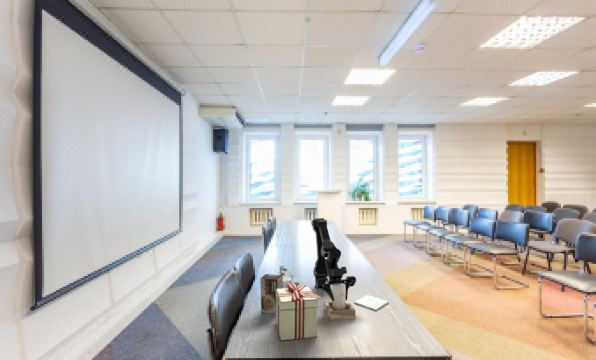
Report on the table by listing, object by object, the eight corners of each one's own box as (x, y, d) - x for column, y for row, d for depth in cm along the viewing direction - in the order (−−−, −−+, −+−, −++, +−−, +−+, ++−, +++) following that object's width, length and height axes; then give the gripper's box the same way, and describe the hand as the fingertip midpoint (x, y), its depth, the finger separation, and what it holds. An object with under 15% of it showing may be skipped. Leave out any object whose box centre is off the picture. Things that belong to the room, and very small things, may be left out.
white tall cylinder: (331, 311, 135) (330, 283, 135) (343, 309, 136) (343, 282, 136) (336, 319, 127) (335, 289, 127) (349, 318, 128) (348, 288, 128)
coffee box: (283, 308, 139) (283, 275, 139) (278, 314, 133) (277, 279, 133) (266, 306, 142) (265, 273, 142) (260, 311, 136) (259, 277, 136)
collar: (324, 309, 137) (324, 301, 137) (347, 307, 139) (346, 299, 139) (330, 320, 126) (330, 312, 126) (355, 318, 128) (355, 310, 128)
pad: (354, 303, 143) (354, 301, 143) (367, 296, 151) (367, 294, 151) (375, 311, 135) (375, 309, 135) (388, 303, 143) (388, 301, 143)
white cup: (277, 294, 156) (276, 276, 156) (291, 293, 157) (291, 275, 157) (277, 300, 148) (277, 281, 148) (292, 299, 149) (292, 280, 149)
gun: (271, 265, 203) (284, 262, 205) (271, 269, 203) (285, 267, 205) (282, 283, 168) (298, 279, 170) (282, 289, 168) (299, 285, 170)
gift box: (327, 335, 114) (326, 291, 114) (281, 343, 109) (280, 298, 109) (312, 316, 130) (312, 278, 131) (272, 322, 125) (272, 282, 125)
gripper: (316, 261, 135) (323, 294, 124) (354, 259, 138) (364, 290, 127) (313, 273, 143) (319, 304, 132) (349, 270, 146) (357, 301, 135)
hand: (340, 300), depth 131 cm, fingers closed on white tall cylinder, 6 cm apart
